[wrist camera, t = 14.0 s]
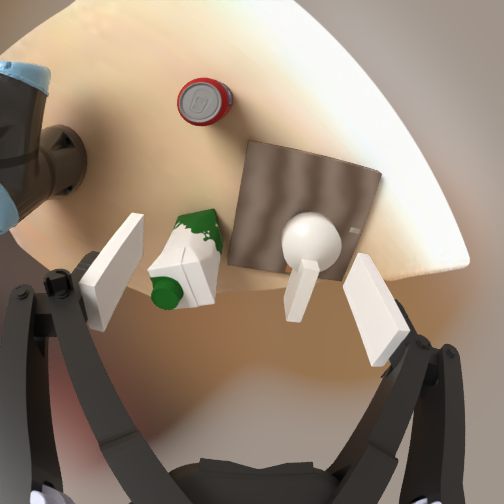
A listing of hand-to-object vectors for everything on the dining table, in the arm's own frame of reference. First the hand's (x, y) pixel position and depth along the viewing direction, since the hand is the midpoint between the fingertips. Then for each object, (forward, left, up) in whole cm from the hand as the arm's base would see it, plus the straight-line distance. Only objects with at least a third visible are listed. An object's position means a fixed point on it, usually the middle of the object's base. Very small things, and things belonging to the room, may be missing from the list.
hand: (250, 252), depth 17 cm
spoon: (+11, -15, -25) cm, 32 cm away
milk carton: (-7, -17, -34) cm, 39 cm away
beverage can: (-8, +7, -34) cm, 36 cm away
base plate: (+11, -11, -34) cm, 37 cm away
